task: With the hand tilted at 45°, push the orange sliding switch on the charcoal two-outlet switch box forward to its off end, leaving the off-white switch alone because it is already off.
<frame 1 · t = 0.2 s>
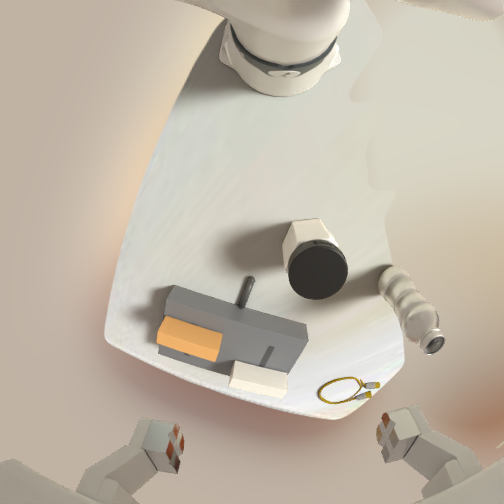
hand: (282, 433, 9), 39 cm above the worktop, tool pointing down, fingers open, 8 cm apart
jar: (307, 240, 47), on the worktop
extension cord: (346, 389, 63), on the worktop
switch box: (229, 338, 57), on the worktop
plastic bottle: (389, 277, 49), on the worktop
white switch: (258, 380, 51), point 8 cm above the worktop, slide at 6.0 cm
orange switch: (189, 338, 48), point 8 cm above the worktop, slide at 0.0 cm
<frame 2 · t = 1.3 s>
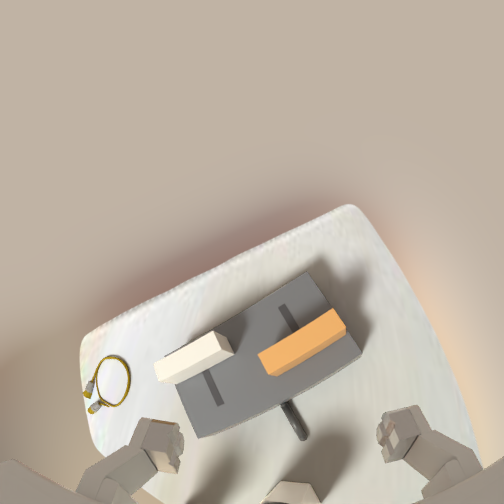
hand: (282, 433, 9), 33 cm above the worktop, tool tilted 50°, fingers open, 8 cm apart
jar: (292, 500, 29), on the worktop
extension cord: (108, 385, 49), on the worktop
switch box: (258, 355, 43), on the worktop
white switch: (193, 359, 38), point 8 cm above the worktop, slide at 6.0 cm
orange switch: (304, 344, 34), point 8 cm above the worktop, slide at 0.0 cm
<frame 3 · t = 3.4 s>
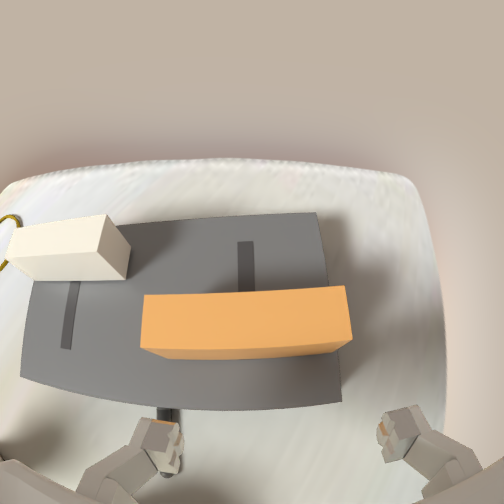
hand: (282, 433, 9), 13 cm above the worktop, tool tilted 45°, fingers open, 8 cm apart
switch box: (168, 306, 25), on the worktop
white switch: (62, 252, 19), point 8 cm above the worktop, slide at 6.0 cm
orange switch: (246, 329, 16), point 8 cm above the worktop, slide at 0.0 cm
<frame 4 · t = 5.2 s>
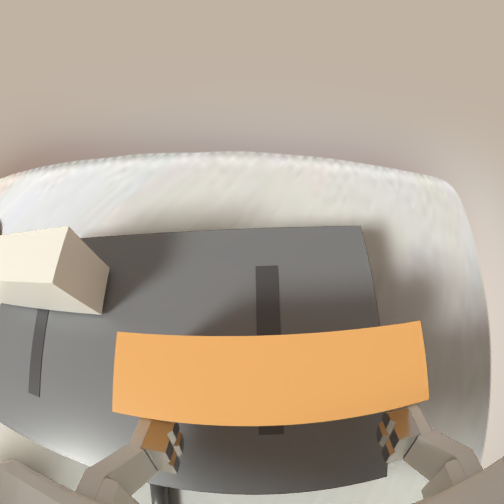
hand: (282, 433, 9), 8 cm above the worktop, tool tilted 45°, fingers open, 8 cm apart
switch box: (161, 343, 18), on the worktop
white switch: (24, 273, 13), point 8 cm above the worktop, slide at 6.0 cm
orange switch: (271, 382, 10), point 8 cm above the worktop, slide at 1.2 cm, touching gripper
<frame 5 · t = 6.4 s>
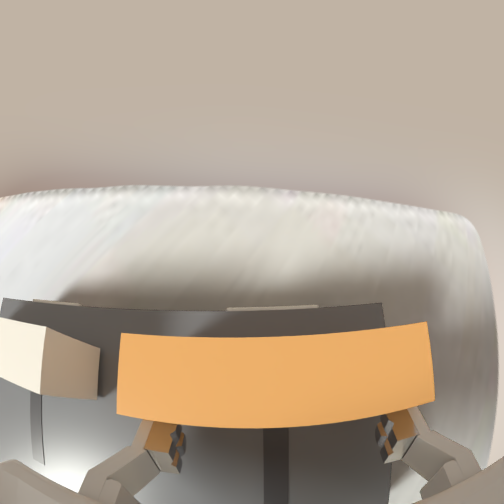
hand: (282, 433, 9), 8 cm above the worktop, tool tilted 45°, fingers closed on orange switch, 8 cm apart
switch box: (162, 410, 16), on the worktop
white switch: (11, 350, 11), point 8 cm above the worktop, slide at 6.0 cm
orange switch: (277, 383, 10), point 8 cm above the worktop, slide at 6.1 cm, touching gripper
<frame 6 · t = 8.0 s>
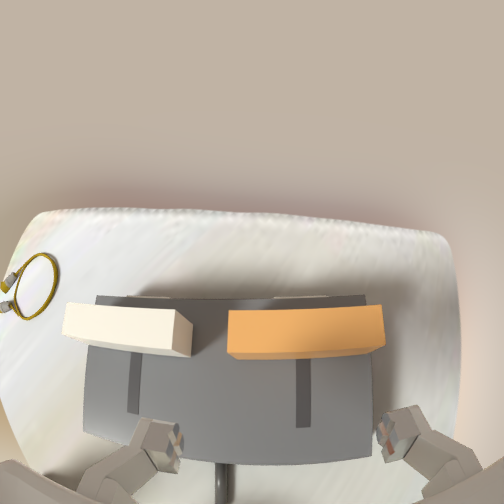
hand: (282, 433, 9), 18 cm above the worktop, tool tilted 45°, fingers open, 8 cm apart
extension cord: (29, 288, 34), on the worktop
switch box: (224, 369, 27), on the worktop
white switch: (124, 330, 21), point 8 cm above the worktop, slide at 6.0 cm
orange switch: (305, 336, 20), point 8 cm above the worktop, slide at 6.0 cm
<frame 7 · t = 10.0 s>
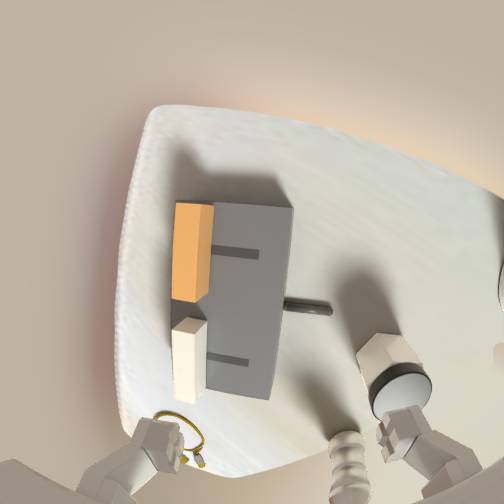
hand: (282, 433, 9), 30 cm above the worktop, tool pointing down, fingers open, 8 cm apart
jar: (381, 355, 38), on the worktop
extension cord: (181, 437, 47), on the worktop
switch box: (222, 296, 41), on the worktop
plastic bottle: (345, 437, 40), on the worktop
white switch: (190, 361, 35), point 8 cm above the worktop, slide at 6.0 cm
orange switch: (192, 250, 33), point 8 cm above the worktop, slide at 6.0 cm
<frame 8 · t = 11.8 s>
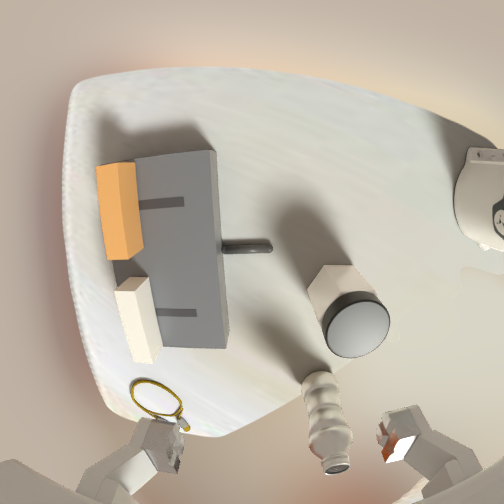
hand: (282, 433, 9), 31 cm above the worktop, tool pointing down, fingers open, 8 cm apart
jar: (335, 288, 41), on the worktop
extension cord: (160, 403, 51), on the worktop
switch box: (162, 250, 40), on the worktop
plastic bottle: (317, 378, 46), on the worktop
white switch: (140, 321, 35), point 8 cm above the worktop, slide at 6.0 cm
orange switch: (120, 209, 30), point 8 cm above the worktop, slide at 6.0 cm
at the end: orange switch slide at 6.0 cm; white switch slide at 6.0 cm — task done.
